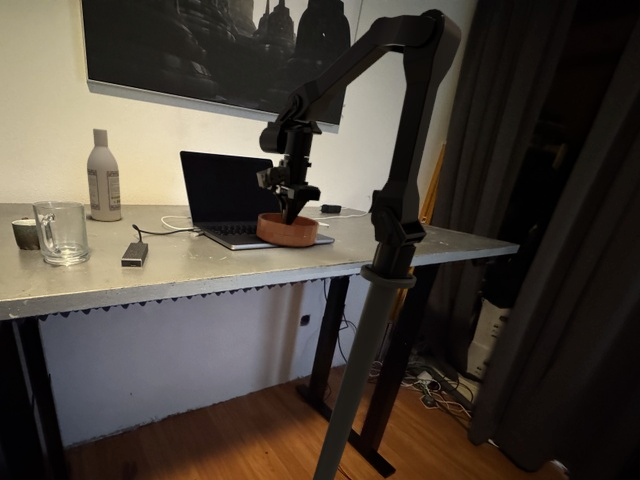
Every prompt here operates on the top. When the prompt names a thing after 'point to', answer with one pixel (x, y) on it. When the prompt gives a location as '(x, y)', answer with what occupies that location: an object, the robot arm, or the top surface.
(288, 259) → the top surface
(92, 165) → the bath foam
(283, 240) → the bowl
